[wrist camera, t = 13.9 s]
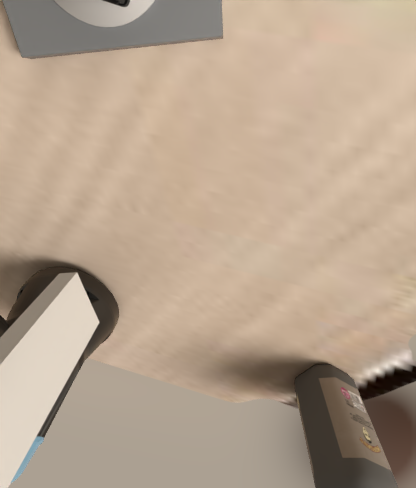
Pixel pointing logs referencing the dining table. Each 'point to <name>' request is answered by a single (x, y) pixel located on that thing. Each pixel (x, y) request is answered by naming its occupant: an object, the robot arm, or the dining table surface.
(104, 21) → the plate
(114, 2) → the end cap
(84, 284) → the robot arm
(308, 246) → the dining table surface
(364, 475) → the liquor
